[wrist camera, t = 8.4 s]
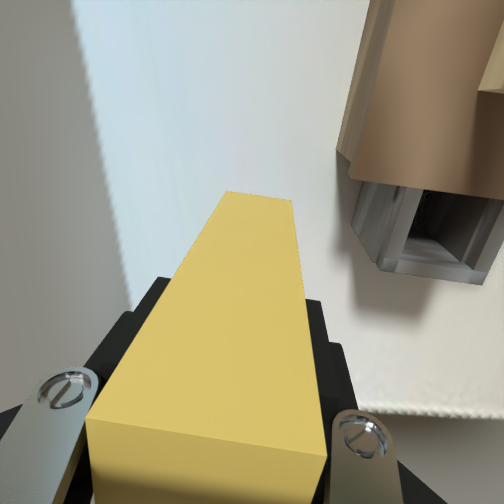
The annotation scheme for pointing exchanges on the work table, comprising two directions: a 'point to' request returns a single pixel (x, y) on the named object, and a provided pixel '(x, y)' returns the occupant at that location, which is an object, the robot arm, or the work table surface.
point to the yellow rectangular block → (217, 376)
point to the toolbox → (384, 195)
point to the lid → (437, 124)
